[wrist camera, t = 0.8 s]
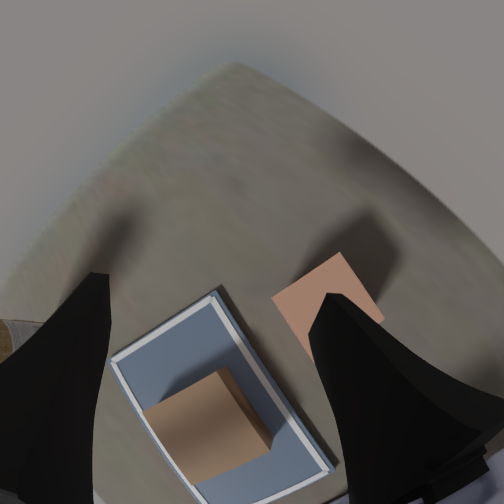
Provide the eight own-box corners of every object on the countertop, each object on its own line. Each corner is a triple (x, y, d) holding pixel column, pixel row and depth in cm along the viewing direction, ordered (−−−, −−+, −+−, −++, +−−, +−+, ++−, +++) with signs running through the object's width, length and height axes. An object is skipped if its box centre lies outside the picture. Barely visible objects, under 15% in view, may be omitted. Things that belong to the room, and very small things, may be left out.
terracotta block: (365, 319, 24) (384, 319, 18) (312, 356, 24) (316, 366, 18) (330, 267, 25) (339, 251, 19) (277, 303, 25) (271, 297, 19)
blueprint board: (335, 467, 22) (336, 471, 21) (216, 519, 22) (214, 523, 21) (217, 290, 26) (215, 289, 25) (109, 359, 26) (105, 360, 25)
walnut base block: (273, 437, 22) (270, 451, 19) (202, 470, 22) (191, 485, 19) (225, 365, 24) (216, 371, 21) (157, 403, 24) (141, 412, 21)
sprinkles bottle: (43, 322, 28) (-61, 312, 15) (74, 321, 27) (-38, 310, 14) (47, 366, 27) (-57, 372, 14) (78, 367, 26) (-32, 379, 13)
